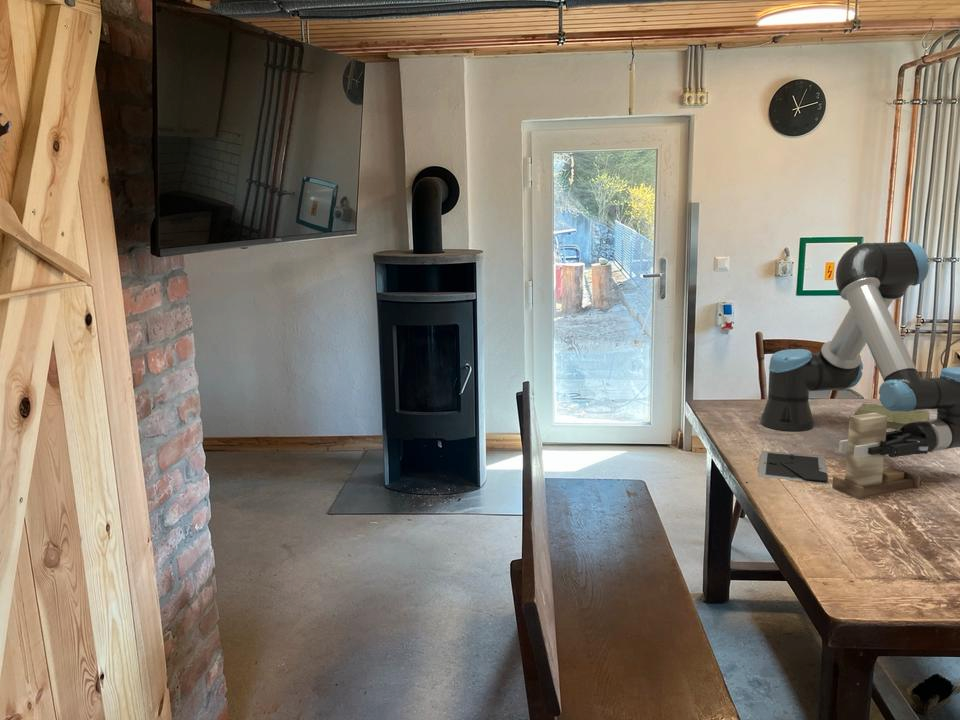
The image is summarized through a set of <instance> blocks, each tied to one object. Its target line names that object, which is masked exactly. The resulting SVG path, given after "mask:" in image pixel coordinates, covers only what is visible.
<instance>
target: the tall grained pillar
mask: <svg viewBox="0 0 960 720" xmlns="http://www.w3.org/2000/svg"><path fill="white" fill-rule="evenodd" d="M887 417H888V416H885V415H881V414H878V413H868V414H862V415H855V416H853V415H850V416H849V418H848V419H849V421H848V432H847V433H848V434H847V439H848V445H847V452H846V460H845V473H844V479H845V480H846V481H849V482H851V483H854V484H856V485H859V486H861V487H867V486H872V485H877V484H882V475H883V469H884V461H885V455H880V454H878V455H873V456H867V457H861V458H854V446H857V445H863V444H869V443H875V442H877V443H879V446H880V444H881V440H882V441H885V440H886V432H887V429H888V428H887Z"/></svg>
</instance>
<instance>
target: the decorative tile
mask: <svg viewBox="0 0 960 720" xmlns="http://www.w3.org/2000/svg"><path fill="white" fill-rule="evenodd" d="M868 413H878V414H881V415H885V416H888V417H887V429H891V428H892V429H891V430H898V429H901V428H902V427H903V426H904V425H905V424H907V423H912V422H920V421H924V420H930V412H929V411H926V410H912V411H908V412H906V411H905V412H904V411H890V410H888V409H886V408H885V407H884V406H883V405H882V404H876V403H862V404H861V405H860V406H859V407H858V408H857V410H856V411H855V412H854V414H853V415H852V416H855V415H862V414H868Z"/></svg>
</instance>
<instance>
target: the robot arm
mask: <svg viewBox="0 0 960 720" xmlns="http://www.w3.org/2000/svg"><path fill="white" fill-rule="evenodd" d="M929 264H930V263H929V257H928V255H927V253H926V251H925V249H924V248H923V247H922V245H920V244H919V243H917V242H915V241H914V242H913V241H905V240H903V241H898V242H893V241H892V242H864V243H858V244H856V245H854V246H852V247H850V248H848V250H846V251H845V252H844V253H843V255H842V256H841V257H840V259H839V261H838V263H837V266H836V269H835V270H836V271H835V282H836V283H835V284H836V287H837V290H838V293H839V295H840V297H841V299H843V300H844V301H847V302H848V305H849V306H850V307H849V309H848V311H847V313H846V314H845V316H844V318H843V320H842V322H841V323H840V326H839V327H838V329H837V330H836V333H835V334H834V336H833V338H832V339H831V340H830V341H827V342H824V343H823V344H822V346H821V348H820V349H819V351H818V352H816V353H812V351H810V350H809V349H804V348H796V349H795V348H791V349H790V348H788V349H782V350H779V351H776V352H774V353H772V354H771V356H770V360H769V366H768V370H769V371H768V372H769V374H768V393H767V394H768V395H767V401H766V403H765V406H764V410H763V412H762V413H761V415H760V424H761V425H763V427H767V428H770V429H773V430H778V431H788V432H803V431H808V430H811V429H812V428H814V417H813V416H812V410H811V406H810V403H809V399H810V397H809V396H810V392H819V391H823V392H824V391H842V390H847V389H851V388H853V387H855V386H856V385H857V384H859V382H860V380H861V379H862V376H863V372H862V370H863V369H864V364H863V361H862V357H861V353H862V351H863V349H864V347H865V346H866V345H867V346H868V348H869V351H870V353H871V355H872V358H873V360H874V362H875V364H876V366H877V369H878V371H879V374H880V376H881V378H882V380H883V382H882V383H881V384H880V386H879V389H878V394H879V401H880V405H883V406H884V407H885V408H886V409H888V410H890V411H904V412H905V411H906V412H908V411H912V410H918V411H926V410H936V411H937V413H936V418H931V419H930V418H929V420H924V421H920V422H912V423H907V424H905V425H904V426H903V427H902V428H901V429H900V430H898V429H893V430H891V431H886V440H885V441H882V440H881V444H880V446H879V443H877V442H875V443H869V444H863V445H857V446H854V458H861V457H867V456H873V455H878V454H880V455H884V456H886V455H887V456H888V457H890V458H898V457H905V456H910V455H923V454H924V455H926V454H929V453H930V454H931V453H933V454H934V452H936V451H942V450H948V449H954V448H960V367H959V366H958V367H957V366H950V367H949V366H948V367H947V366H946V367H944V368H942V369H941V371H940V374H939V377H925V378H924V377H923V378H922V377H921V375H920V373H919V372H918V369H917V368H916V365H915V364H914V361H913V360H912V357H911V354H910V353H909V351H908V349H907V346H906V345H905V342H904V340H903V338H902V335H901V334H900V331H899V329H898V327H897V325H896V323H895V321H894V319H893V317H892V315H891V312H890V311H889V307H890V306H891V304H892V303H893V301H894V300H895V301H896V300H898V299H901V298H902V297H904V294H906V291H908V288H909V287H910V286H918V285H920V284H922V283H923V282H924V281H925V280H926V278H927V276H928V273H929V267H930V266H929ZM838 442H839V443H838V452H839V453H841V454H843V453H847V445H848V438H847V439H842V440H839V441H838Z"/></svg>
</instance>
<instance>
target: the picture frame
mask: <svg viewBox="0 0 960 720" xmlns="http://www.w3.org/2000/svg"><path fill="white" fill-rule="evenodd" d="M760 451H761V452H760V458H759V464H758V466H759V467H758V472H757V477H761V478H769V479H777V480H778V479H779V480H786V481H787V480H788V481H796V482H797V481H798V482H807V483H816V484H822V485H823V484H824V485H825V484H826V485H828V484H829V482H828V481H829V477H828V473H827V465H826V456H824V455H812V454H805V453H804V454H803V453H792V452H791V453H790V452H781V451H770V450H760Z"/></svg>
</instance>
